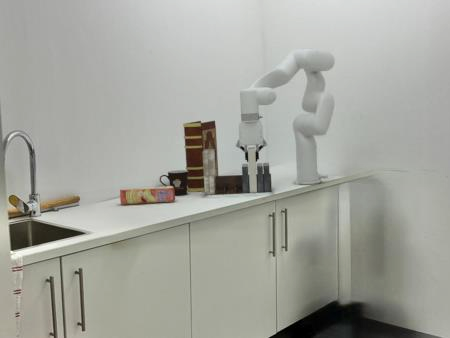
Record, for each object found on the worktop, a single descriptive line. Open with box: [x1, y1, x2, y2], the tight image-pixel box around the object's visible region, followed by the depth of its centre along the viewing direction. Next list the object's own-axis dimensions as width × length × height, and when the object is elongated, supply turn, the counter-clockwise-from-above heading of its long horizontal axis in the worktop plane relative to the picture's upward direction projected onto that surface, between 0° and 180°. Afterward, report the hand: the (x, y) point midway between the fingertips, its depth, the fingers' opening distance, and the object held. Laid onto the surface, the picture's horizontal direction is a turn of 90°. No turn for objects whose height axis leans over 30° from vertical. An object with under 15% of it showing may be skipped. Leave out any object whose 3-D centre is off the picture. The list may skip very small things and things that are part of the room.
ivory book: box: [247, 146, 258, 194], centre depth 263 cm, size 3×11×18 cm, turn 4°
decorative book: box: [182, 120, 219, 193], centre depth 282 cm, size 22×8×30 cm, turn 168°
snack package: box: [119, 185, 176, 206], centre depth 249 cm, size 21×7×7 cm, turn 99°
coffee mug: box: [159, 169, 188, 197], centre depth 267 cm, size 12×9×10 cm
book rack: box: [203, 149, 273, 197], centre depth 263 cm, size 28×14×19 cm, turn 94°
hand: (252, 161), depth 262 cm, fingers closed on ivory book, 3 cm apart
